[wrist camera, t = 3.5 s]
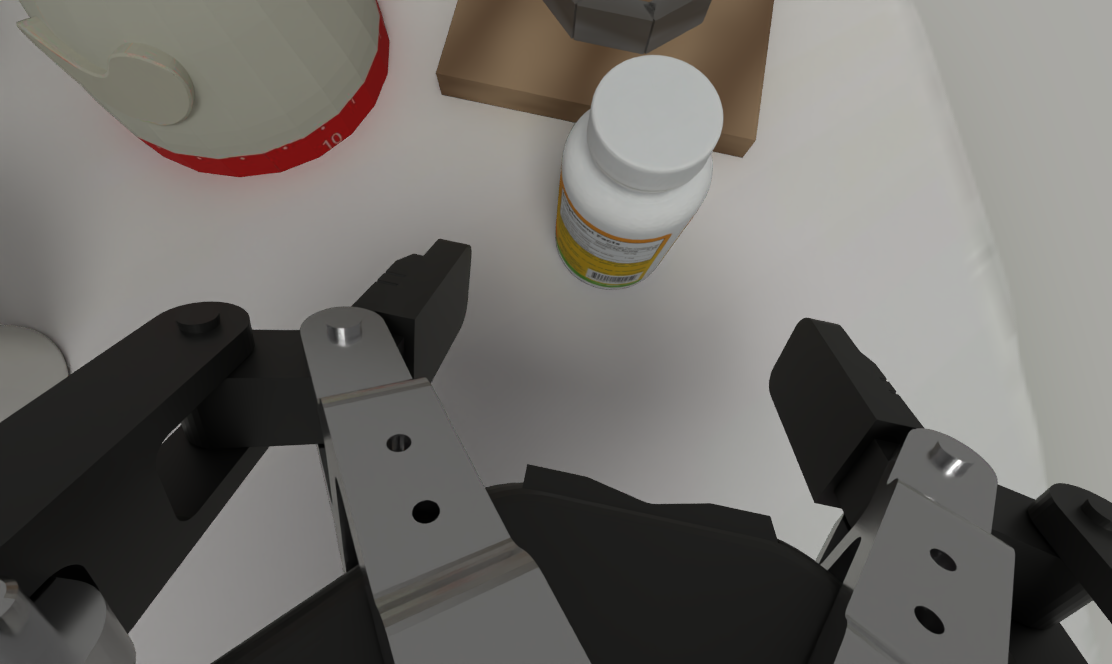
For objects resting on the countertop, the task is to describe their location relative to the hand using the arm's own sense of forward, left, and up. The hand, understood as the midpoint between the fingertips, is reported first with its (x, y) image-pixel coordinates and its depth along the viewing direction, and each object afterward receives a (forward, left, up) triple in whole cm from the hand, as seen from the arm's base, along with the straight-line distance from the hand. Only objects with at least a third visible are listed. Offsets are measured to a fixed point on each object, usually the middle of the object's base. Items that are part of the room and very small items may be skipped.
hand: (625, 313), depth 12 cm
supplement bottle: (0, +7, -11) cm, 13 cm away
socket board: (-2, +21, -11) cm, 23 cm away
